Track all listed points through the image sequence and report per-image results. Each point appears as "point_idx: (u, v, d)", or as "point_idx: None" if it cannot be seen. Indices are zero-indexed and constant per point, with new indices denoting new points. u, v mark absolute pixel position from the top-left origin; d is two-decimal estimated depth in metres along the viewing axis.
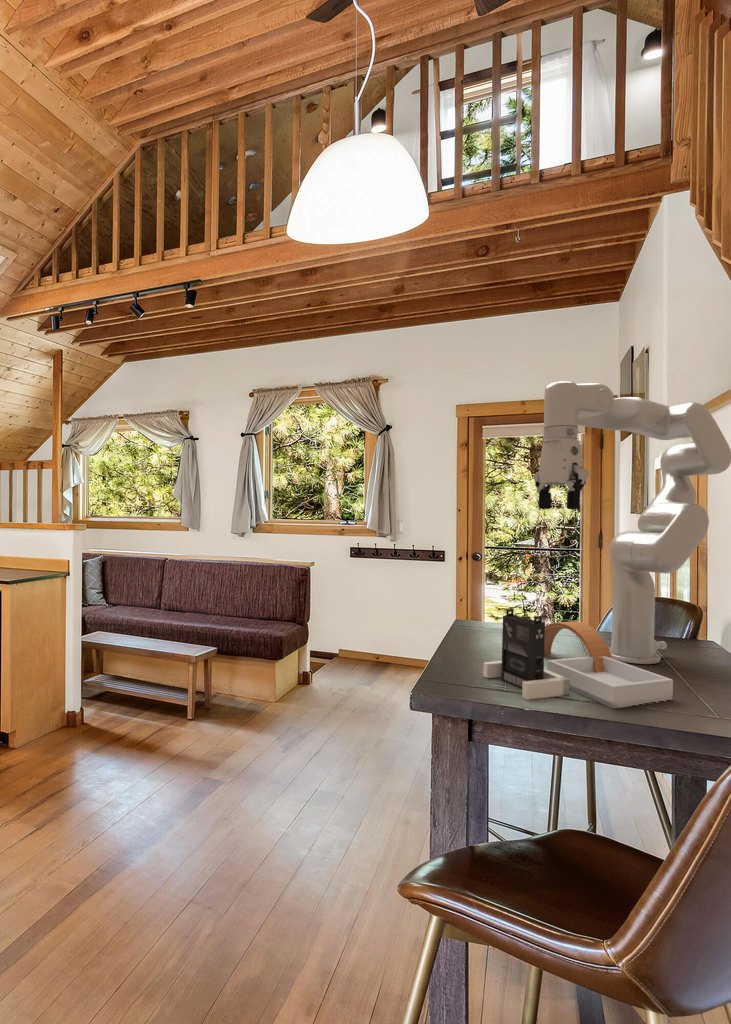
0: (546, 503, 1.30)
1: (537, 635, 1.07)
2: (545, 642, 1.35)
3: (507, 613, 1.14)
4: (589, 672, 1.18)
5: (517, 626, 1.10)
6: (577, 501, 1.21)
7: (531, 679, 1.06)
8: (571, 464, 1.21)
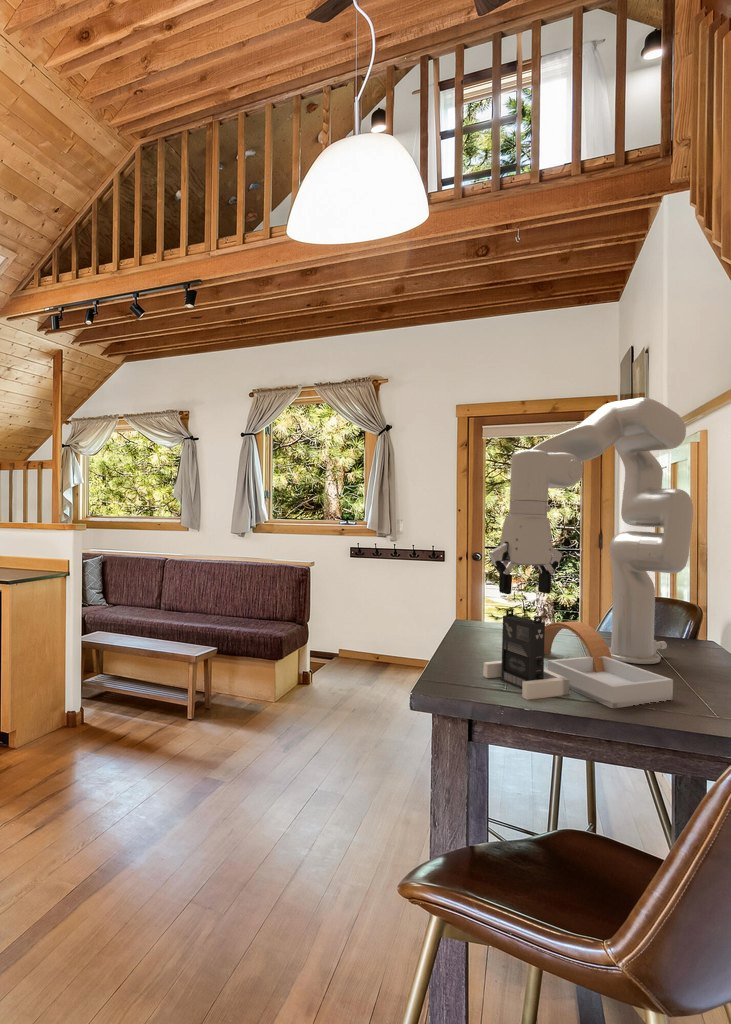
0: None
1: (537, 635, 1.07)
2: (545, 642, 1.35)
3: (507, 613, 1.14)
4: (589, 672, 1.18)
5: (517, 626, 1.10)
6: None
7: (531, 679, 1.06)
8: None
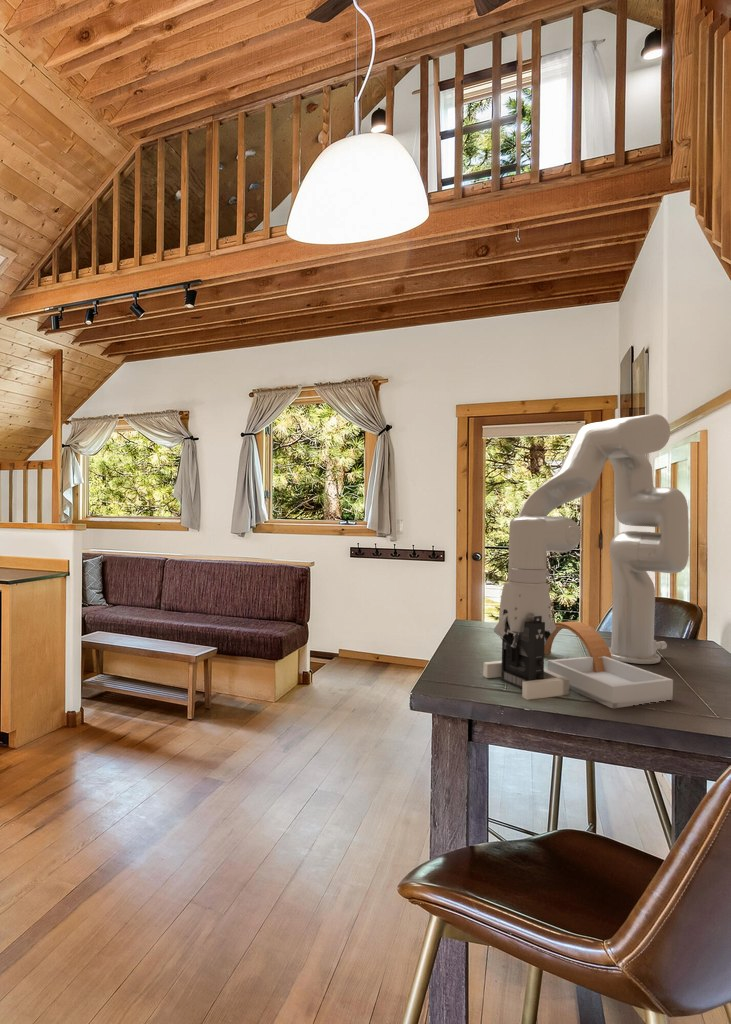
0: None
1: (537, 635, 1.07)
2: None
3: None
4: (589, 672, 1.18)
5: None
6: None
7: (531, 679, 1.06)
8: None
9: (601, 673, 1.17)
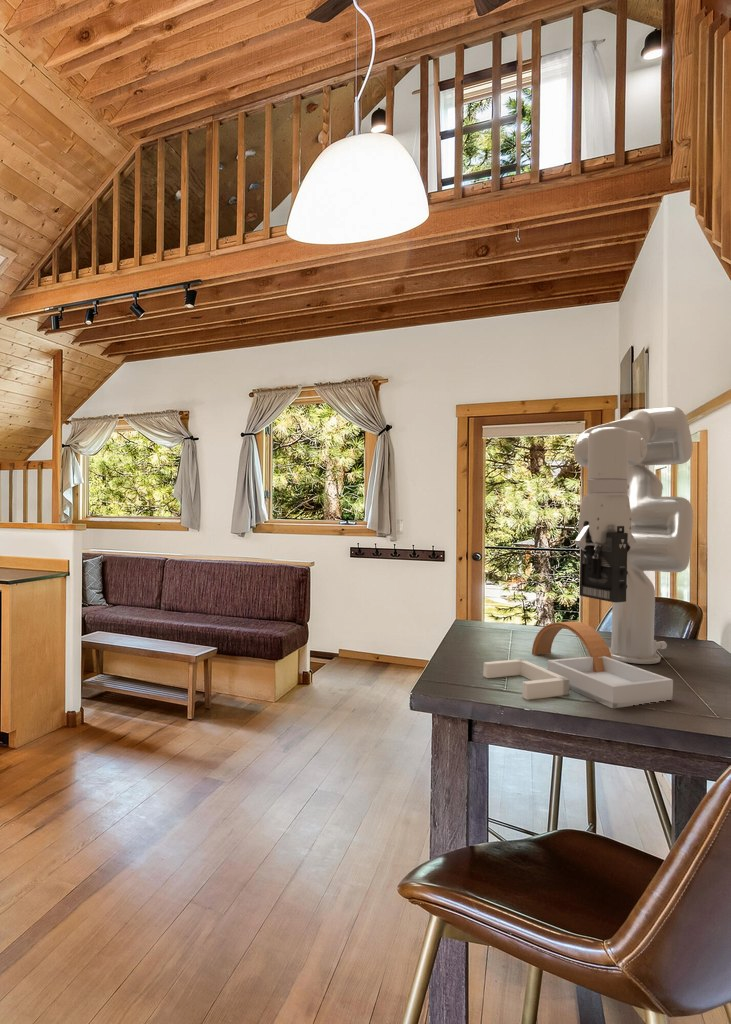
0: None
1: (620, 544, 1.05)
2: (545, 642, 1.35)
3: None
4: (589, 672, 1.18)
5: None
6: None
7: (614, 589, 1.05)
8: None
9: (601, 673, 1.17)
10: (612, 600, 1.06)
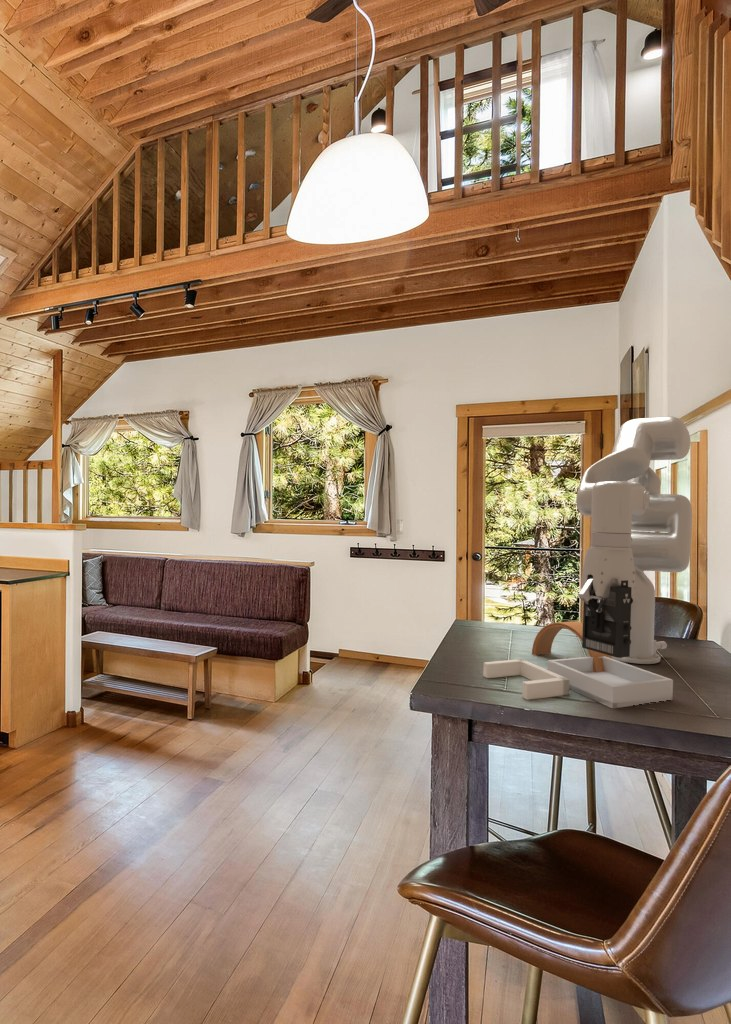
0: None
1: (624, 599, 1.05)
2: (545, 642, 1.35)
3: None
4: (589, 672, 1.18)
5: None
6: None
7: (618, 644, 1.05)
8: None
9: (601, 673, 1.17)
10: (616, 655, 1.05)
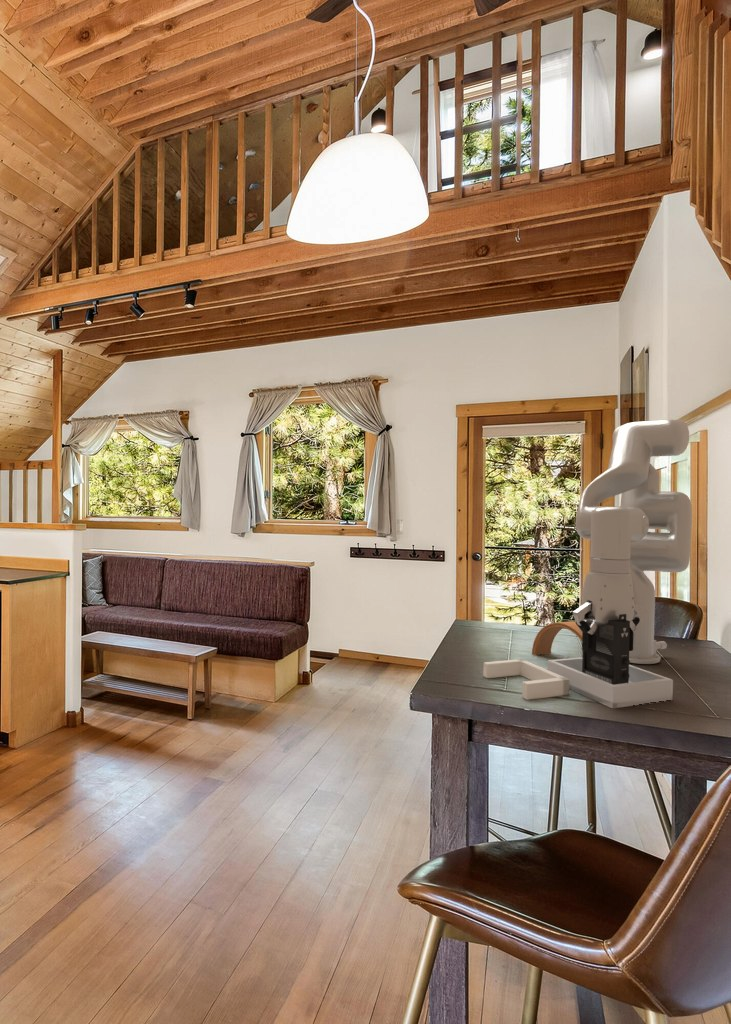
0: None
1: (622, 633, 1.05)
2: (545, 642, 1.35)
3: None
4: None
5: (600, 624, 1.09)
6: None
7: (616, 678, 1.05)
8: None
9: None
10: None
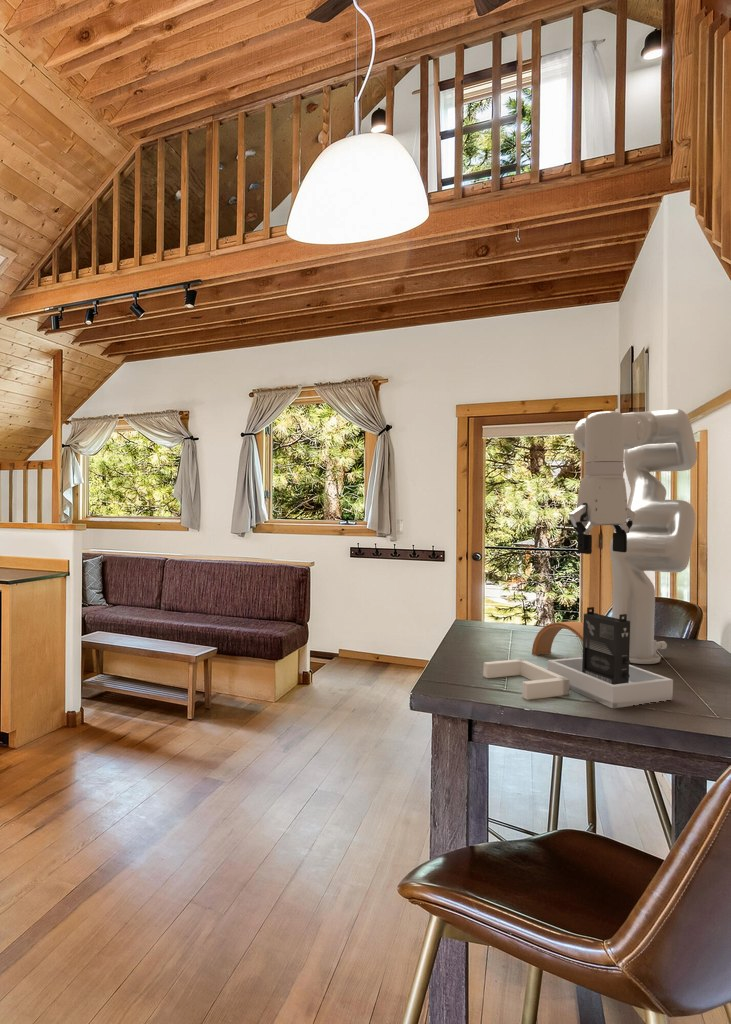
0: None
1: (623, 633, 1.05)
2: (545, 642, 1.35)
3: (588, 611, 1.13)
4: None
5: (600, 624, 1.09)
6: None
7: (616, 678, 1.05)
8: None
9: None
10: None
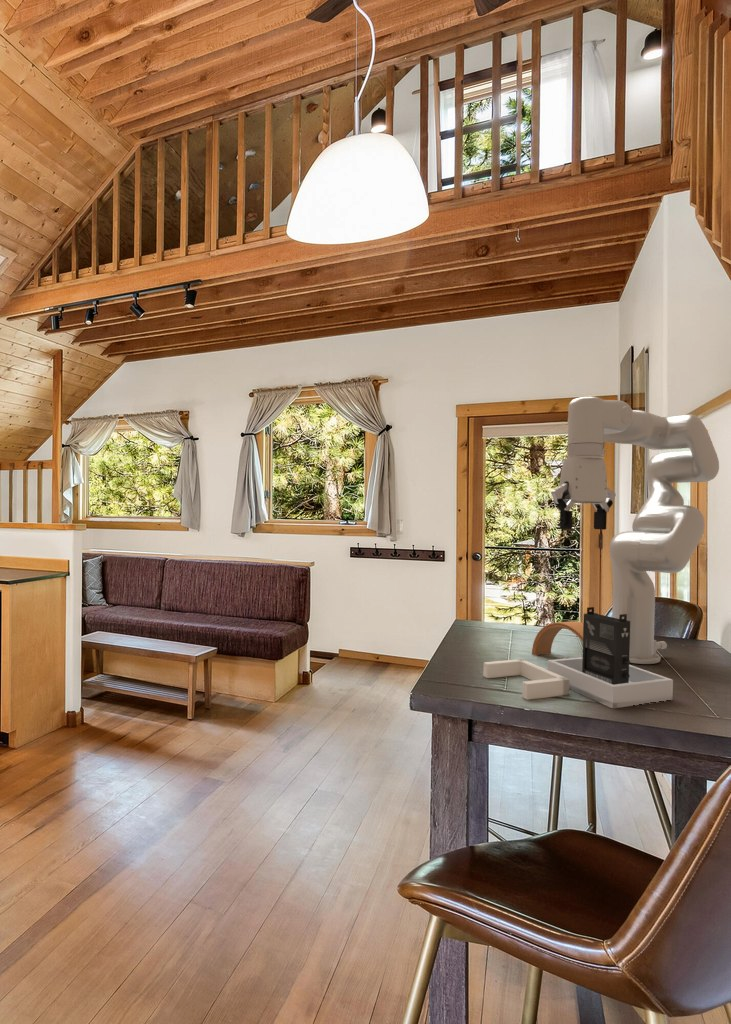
0: None
1: (623, 633, 1.05)
2: (545, 642, 1.35)
3: (588, 611, 1.13)
4: None
5: (600, 624, 1.09)
6: None
7: (616, 678, 1.05)
8: None
9: None
10: None
